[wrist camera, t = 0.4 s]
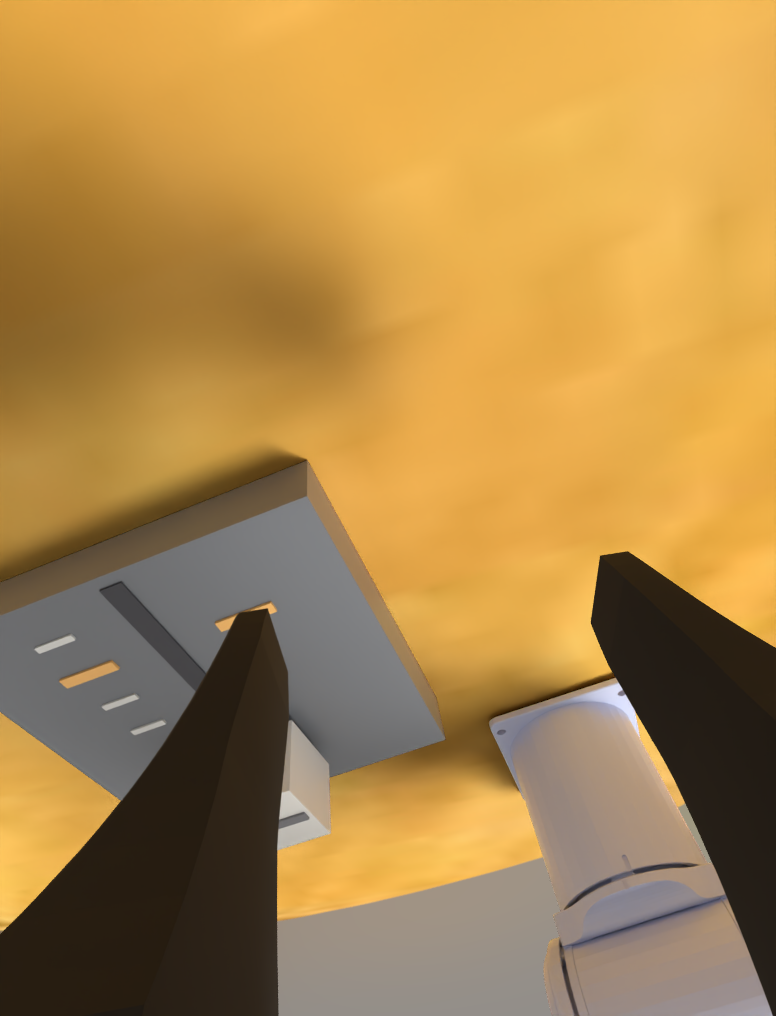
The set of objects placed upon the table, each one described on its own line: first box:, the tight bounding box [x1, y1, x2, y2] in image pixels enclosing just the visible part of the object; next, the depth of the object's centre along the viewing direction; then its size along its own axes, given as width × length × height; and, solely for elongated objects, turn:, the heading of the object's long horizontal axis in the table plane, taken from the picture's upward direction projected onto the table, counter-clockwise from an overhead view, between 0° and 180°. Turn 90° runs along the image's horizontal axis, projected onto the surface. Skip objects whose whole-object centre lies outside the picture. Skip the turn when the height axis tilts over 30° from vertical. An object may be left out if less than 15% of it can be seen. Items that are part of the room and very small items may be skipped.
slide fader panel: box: [0, 460, 446, 800], centre depth 25 cm, size 16×16×3 cm
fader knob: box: [277, 720, 331, 850], centre depth 25 cm, size 4×5×4 cm
